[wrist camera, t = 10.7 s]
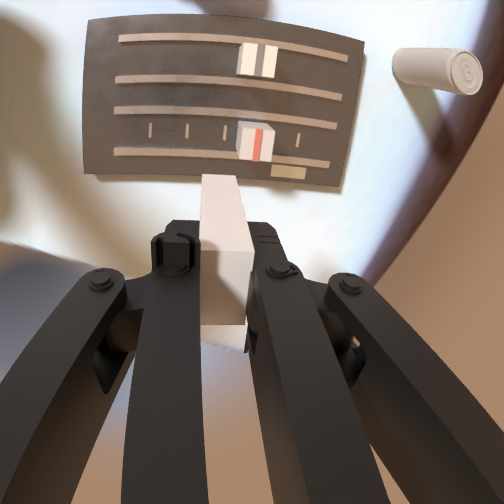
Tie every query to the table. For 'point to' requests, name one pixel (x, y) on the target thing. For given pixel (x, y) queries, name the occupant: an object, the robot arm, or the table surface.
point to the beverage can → (439, 69)
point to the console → (215, 97)
